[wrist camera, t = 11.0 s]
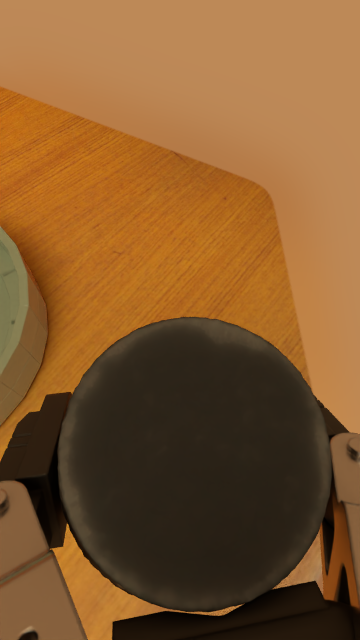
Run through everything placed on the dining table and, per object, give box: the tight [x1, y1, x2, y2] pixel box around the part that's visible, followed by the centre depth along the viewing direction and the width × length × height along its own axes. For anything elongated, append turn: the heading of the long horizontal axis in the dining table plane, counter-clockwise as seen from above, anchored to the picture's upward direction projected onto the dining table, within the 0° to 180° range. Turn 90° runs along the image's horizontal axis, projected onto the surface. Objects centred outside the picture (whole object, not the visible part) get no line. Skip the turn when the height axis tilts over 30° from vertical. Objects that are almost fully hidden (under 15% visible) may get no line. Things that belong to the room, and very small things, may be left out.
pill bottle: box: [57, 317, 332, 612], centre depth 11 cm, size 6×6×11 cm
